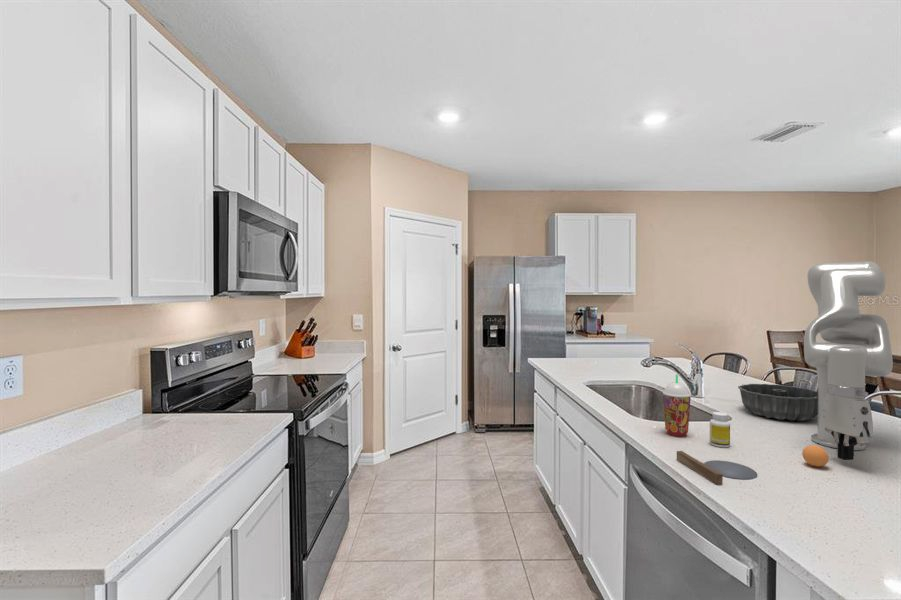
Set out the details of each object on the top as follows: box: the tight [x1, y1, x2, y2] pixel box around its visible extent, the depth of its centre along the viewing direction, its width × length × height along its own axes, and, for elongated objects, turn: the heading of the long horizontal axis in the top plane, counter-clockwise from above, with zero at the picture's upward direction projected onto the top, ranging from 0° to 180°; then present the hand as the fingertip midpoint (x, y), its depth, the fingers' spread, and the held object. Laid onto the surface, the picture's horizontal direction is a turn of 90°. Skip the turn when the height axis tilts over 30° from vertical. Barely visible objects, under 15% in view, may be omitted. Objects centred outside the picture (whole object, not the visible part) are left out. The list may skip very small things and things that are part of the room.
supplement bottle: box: [709, 411, 731, 448], centre depth 134 cm, size 5×5×10 cm
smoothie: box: [662, 374, 692, 438], centre depth 144 cm, size 8×8×20 cm
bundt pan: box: [737, 383, 818, 422], centre depth 166 cm, size 26×26×10 cm
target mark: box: [704, 459, 758, 481], centre depth 115 cm, size 12×12×1 cm
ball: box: [801, 444, 830, 468], centre depth 117 cm, size 6×6×6 cm
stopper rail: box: [676, 450, 723, 486], centre depth 114 cm, size 2×16×2 cm, turn 5°
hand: (845, 458), depth 118 cm, fingers closed
